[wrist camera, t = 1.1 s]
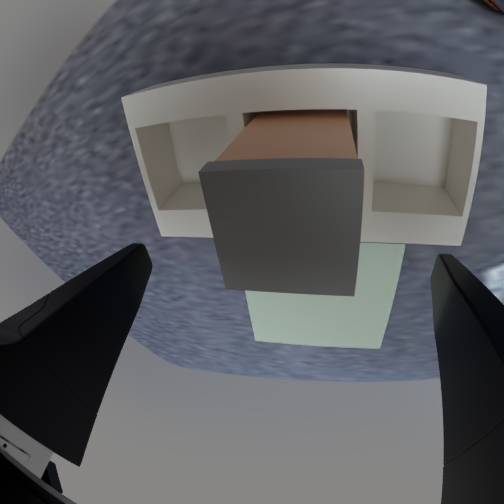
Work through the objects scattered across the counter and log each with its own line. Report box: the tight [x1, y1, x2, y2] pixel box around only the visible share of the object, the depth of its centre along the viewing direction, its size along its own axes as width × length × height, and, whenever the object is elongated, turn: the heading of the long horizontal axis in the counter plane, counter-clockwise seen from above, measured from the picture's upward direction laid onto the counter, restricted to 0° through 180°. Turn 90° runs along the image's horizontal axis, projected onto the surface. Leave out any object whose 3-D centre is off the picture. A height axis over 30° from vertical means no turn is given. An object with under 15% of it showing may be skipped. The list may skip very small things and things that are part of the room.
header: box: [121, 63, 487, 246], centre depth 16 cm, size 18×9×4 cm, turn 97°
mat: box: [245, 242, 406, 349], centre depth 25 cm, size 12×12×1 cm
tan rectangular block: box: [198, 109, 364, 296], centre depth 13 cm, size 5×5×10 cm
